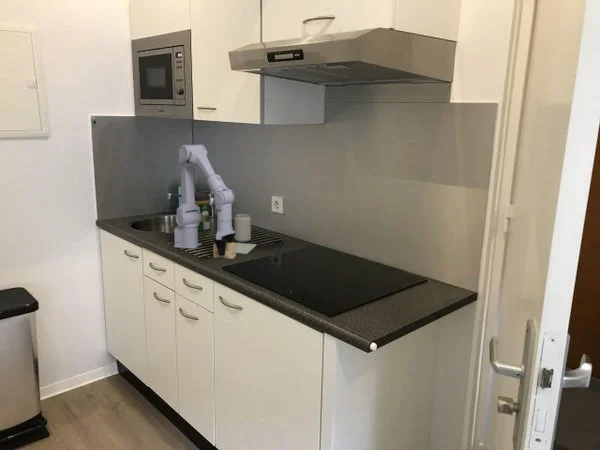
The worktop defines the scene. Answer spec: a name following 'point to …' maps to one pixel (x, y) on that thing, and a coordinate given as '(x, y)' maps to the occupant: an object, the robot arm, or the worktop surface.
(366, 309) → the worktop surface
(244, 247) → the rubber mat
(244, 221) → the can
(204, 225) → the coffee jar
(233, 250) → the birch block
